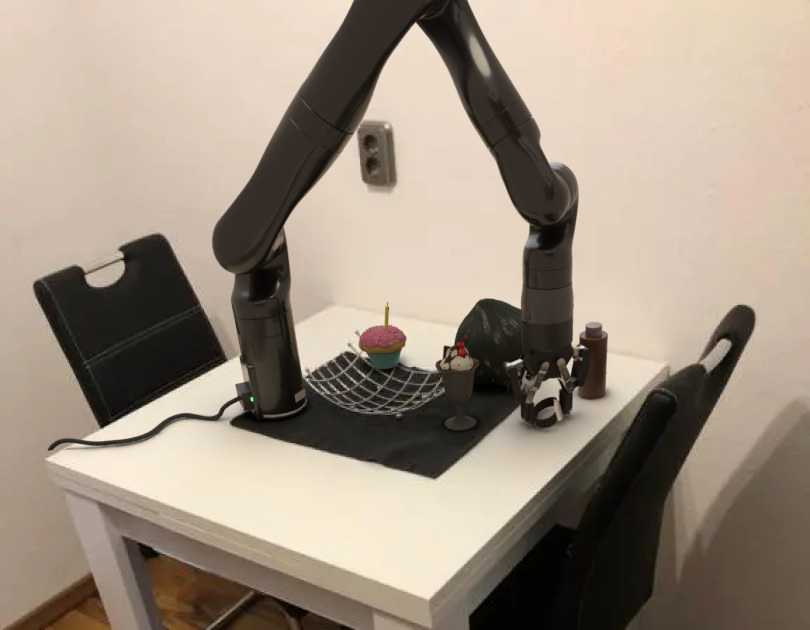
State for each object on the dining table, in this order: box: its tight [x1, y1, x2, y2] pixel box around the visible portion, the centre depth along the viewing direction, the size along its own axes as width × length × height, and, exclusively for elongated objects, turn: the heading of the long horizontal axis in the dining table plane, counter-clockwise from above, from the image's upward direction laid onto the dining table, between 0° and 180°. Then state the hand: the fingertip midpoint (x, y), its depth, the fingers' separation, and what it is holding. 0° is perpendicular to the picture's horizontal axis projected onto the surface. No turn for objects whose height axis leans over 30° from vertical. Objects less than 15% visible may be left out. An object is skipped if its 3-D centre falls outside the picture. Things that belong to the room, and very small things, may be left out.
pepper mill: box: [577, 321, 609, 400], centre depth 145 cm, size 4×4×12 cm
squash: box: [453, 297, 526, 387], centre depth 153 cm, size 14×15×15 cm
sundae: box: [434, 335, 480, 432], centre depth 139 cm, size 7×7×15 cm
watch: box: [534, 396, 563, 429], centre depth 140 cm, size 8×5×4 cm, turn 167°
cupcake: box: [358, 301, 407, 370], centre depth 162 cm, size 9×8×12 cm
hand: (546, 417), depth 141 cm, fingers closed on watch, 5 cm apart
